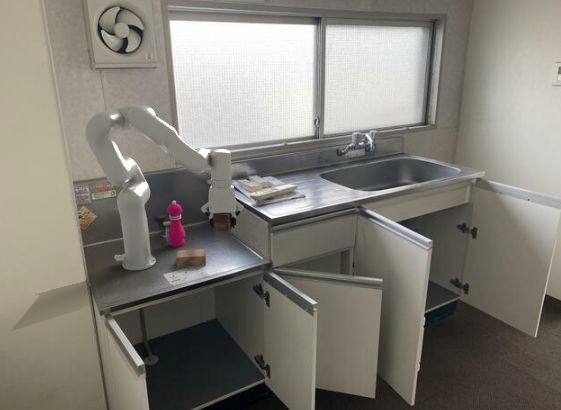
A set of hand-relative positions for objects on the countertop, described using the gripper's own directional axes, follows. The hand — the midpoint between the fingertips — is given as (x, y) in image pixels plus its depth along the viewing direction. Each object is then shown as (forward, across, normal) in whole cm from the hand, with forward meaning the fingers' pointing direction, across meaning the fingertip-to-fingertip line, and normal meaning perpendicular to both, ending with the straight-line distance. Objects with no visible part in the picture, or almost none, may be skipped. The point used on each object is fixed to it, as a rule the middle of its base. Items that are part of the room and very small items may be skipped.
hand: (223, 226), depth 172 cm
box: (+1, 0, 0) cm, 1 cm away
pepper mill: (+15, -20, +22) cm, 34 cm away
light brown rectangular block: (+15, -13, +1) cm, 20 cm away
